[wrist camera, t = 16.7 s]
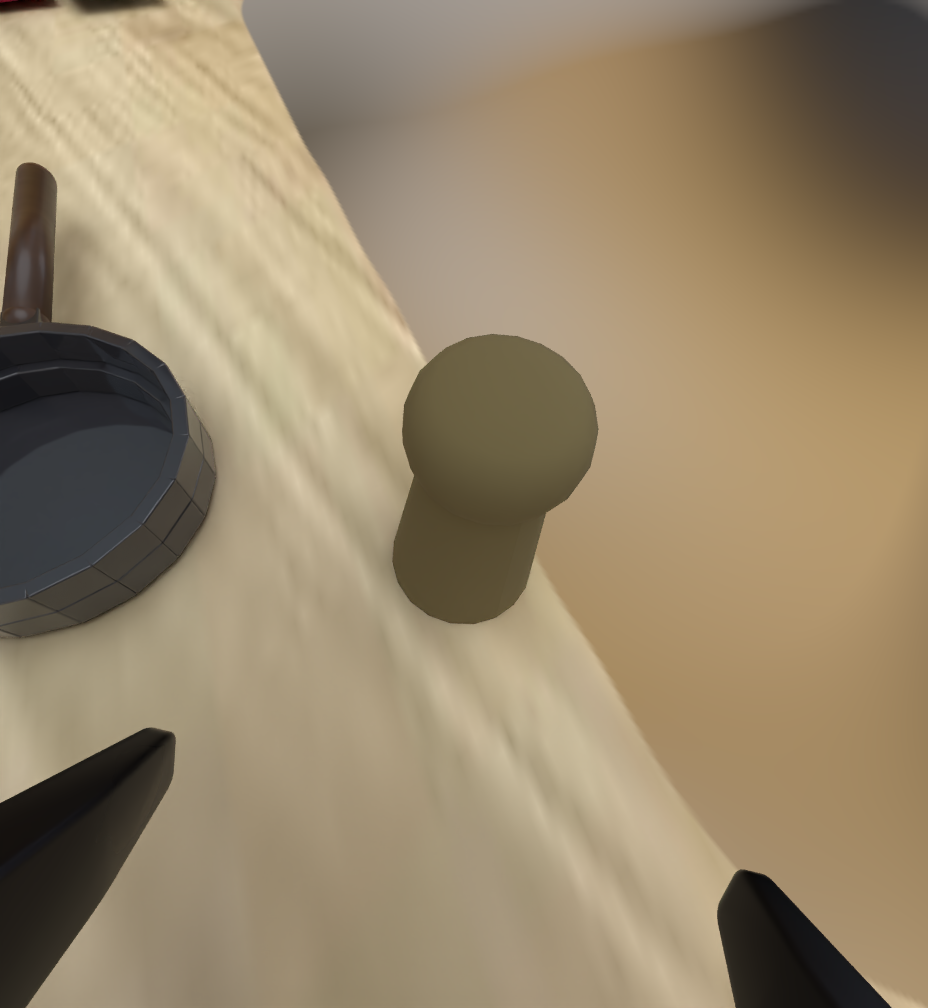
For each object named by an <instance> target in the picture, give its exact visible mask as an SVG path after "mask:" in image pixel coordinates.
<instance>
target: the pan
mask: <svg viewBox="0 0 928 1008" xmlns="http://www.w3.org/2000/svg"><path fill="white" fill-rule="evenodd" d="M215 476H216V471H215V463H214V455H213V447H212V441H211V438H210V436H209V435H208V433H207V431H206V430H205V428H204V426H203V425H202V423H201V421H200V420H199V418H198V416H197V414H196V413H195V411H194V409H193V408H192V406H191V404H190V403H189V401H188V399H187V398H186V396H185V394H184V392H183V391H182V389H181V387H180V386H179V384H178V382H177V381H176V379H175V377H174V376H173V374H172V372H171V371H170V369H169V367H168V366H167V365H166V364H165V363H164V362H163V361H162V360H160V359H159V358H157V357H156V356H155V355H153V354H152V353H151V352H149V351H148V350H147V349H145V348H144V347H143V346H141V345H140V344H139V343H137V342H136V341H134V340H132V339H129V338H126V337H123V336H121V335H118V334H115V333H112V332H109V331H106V330H103V329H100V328H97V327H94V326H89V325H77V324H64V323H52V322H35V323H27V324H19V325H11V326H2V327H0V637H9V638H21V637H27V636H31V635H35V634H40V633H44V632H48V631H52V630H56V629H60V628H64V627H68V626H72V625H76V624H80V623H82V622H86V621H88V620H90V619H92V618H94V617H96V616H98V615H100V614H101V613H103V612H105V611H107V610H109V609H111V608H113V607H115V606H117V605H119V604H120V603H122V602H124V601H126V600H128V599H130V598H132V597H134V596H136V595H137V593H139V592H140V591H141V590H142V589H144V588H145V587H146V586H147V585H148V584H149V583H150V582H152V581H153V580H154V579H155V578H156V577H157V576H158V575H159V574H161V573H162V572H163V571H164V570H165V569H166V568H167V567H169V566H170V565H171V564H172V563H173V562H174V561H175V560H176V559H177V558H178V557H177V556H180V555H181V553H182V552H183V550H184V549H185V547H186V546H187V544H188V543H189V541H190V540H191V538H192V537H193V535H194V533H195V532H196V530H197V529H198V527H199V526H200V524H201V523H202V521H203V520H204V516H206V513H207V509H208V505H209V501H210V498H211V494H212V490H213V486H214V483H215V479H216V477H215Z"/></svg>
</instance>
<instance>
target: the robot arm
mask: <svg viewBox="0 0 928 1008" xmlns="http://www.w3.org/2000/svg"><path fill="white" fill-rule="evenodd" d="M175 744H176V738H175V735H174V734H173V733H172V732H169V731H165V730H161V729H157V728H146V729H143V730H141V731H139V732H137V733H135V734H133V735H131V736H129V737H127V738H125V739H123V740H121V741H119V742H118V743H116V744H114V745H112V746H110V747H108V748H106V749H104V750H102V751H100V752H98V753H96V754H94V755H92V756H90V757H89V758H87V759H85V760H83V761H81V762H79V763H77V764H75V765H73V766H71V767H69V768H67V769H65V770H63V771H61V772H60V773H58V774H56V775H54V776H52V777H50V778H48V779H46V780H44V781H42V782H40V783H38V784H36V785H34V786H32V787H31V788H29V789H27V790H25V791H23V792H21V793H19V794H17V795H15V796H13V797H11V798H9V799H7V800H5V801H3V802H2V803H0V1008H26V1006H27V1005H28V1004H29V1002H30V1001H31V999H32V998H33V996H34V995H35V994H36V992H37V991H38V989H39V988H40V987H41V985H42V984H43V982H44V981H45V980H46V978H47V977H48V975H49V974H50V973H51V971H52V970H53V968H54V967H55V966H56V964H57V963H58V961H59V960H60V959H61V957H62V956H63V954H64V953H65V951H66V950H67V949H68V947H69V946H70V944H71V943H72V942H73V940H74V939H75V937H76V936H77V935H78V933H79V932H80V930H81V929H82V928H83V926H84V925H85V923H86V922H87V921H88V919H89V918H90V916H91V915H92V913H93V912H94V910H95V909H96V907H97V906H98V904H99V903H100V902H101V900H102V899H103V897H104V895H105V894H106V892H107V891H108V889H109V887H110V886H111V884H112V882H113V881H114V879H115V878H116V876H117V874H118V872H119V871H120V869H121V867H122V866H123V864H124V862H125V861H126V859H127V857H128V856H129V854H130V852H131V850H132V849H133V847H134V845H135V844H136V842H137V840H138V839H139V837H140V835H141V834H142V832H143V830H144V828H145V827H146V825H147V823H148V822H149V820H150V818H151V817H152V815H153V813H154V812H155V810H156V808H157V806H158V805H159V803H160V801H161V800H162V798H163V796H164V795H165V793H166V791H167V789H168V787H169V785H170V783H171V780H172V777H173V772H174V759H175ZM717 919H718V926H719V931H720V935H721V940H722V945H723V950H724V954H725V959H726V964H727V969H728V973H729V978H730V983H731V988H732V992H733V997H734V1002H735V1007H736V1008H891V1007H890V1005H889V1004H888V1003H887V1002H886V1001H885V1000H884V999H883V998H882V997H881V996H880V995H879V994H878V993H877V992H876V991H875V989H874V988H873V987H872V986H871V985H870V984H869V983H868V982H867V981H866V980H865V979H864V978H863V977H862V976H861V975H860V973H859V972H858V971H857V970H856V969H855V968H854V967H853V966H852V965H851V964H850V963H849V962H848V961H847V960H846V959H845V957H844V956H842V954H840V952H839V951H838V950H837V949H836V948H835V947H834V946H833V945H832V944H831V943H830V941H828V939H827V938H826V937H825V936H824V935H823V934H822V933H821V932H820V931H819V930H818V929H817V928H816V927H815V926H814V924H813V923H812V922H811V921H810V920H809V919H808V918H807V917H806V916H805V915H804V914H803V913H802V912H801V911H800V910H799V908H798V907H797V906H796V905H795V904H794V903H793V902H792V901H791V900H790V899H789V898H788V897H787V896H786V895H785V894H784V892H783V891H782V890H781V889H780V888H779V887H778V886H777V885H776V884H775V883H774V882H773V881H772V880H771V879H770V878H769V877H767V876H765V875H763V874H760V873H755V872H752V871H748V870H739V871H737V872H736V873H735V874H734V876H733V878H732V880H731V881H730V883H729V885H728V887H727V889H726V891H725V893H724V895H723V896H722V898H721V900H720V902H719V905H718V910H717Z"/></svg>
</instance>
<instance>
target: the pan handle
mask: <svg viewBox="0 0 928 1008" xmlns="http://www.w3.org/2000/svg"><path fill="white" fill-rule="evenodd" d="M56 203H57V184H56V181H55V178H54V177H53V175H52V174H51V173H50V172H49V171H48V170H47V169H46V168H44V167H43V166H41V165H39V164H36V163H23V164H21V165H20V166H19V167H18V168H17V171H16V177H15V187H14V197H13V207H12V217H11V227H10V237H9V247H8V257H7V267H6V277H5V287H4V297H3V307H2V312H1V315H0V327H2V326H11V325H19V324H27V323H35V322H51V321H52V297H53V274H54V250H55V227H56Z"/></svg>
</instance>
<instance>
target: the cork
mask: <svg viewBox="0 0 928 1008" xmlns="http://www.w3.org/2000/svg"><path fill="white" fill-rule="evenodd" d="M402 435H403V445H404V449H405V452H406V455H407V458H408V461H409V464H410V468H411V470H412V472H413V474H414V478H413V482H412V485H411V488H410V491H409V495H408V498H407V501H406V505H405V508H404V511H403V514H402V518H401V521H400V524H399V527H398V531H397V534H396V537H395V541H394V551H393V565H394V569H395V573H396V576H397V580H398V583H399V585H400V586H401V588H402V589H403V591H404V592H405V594H406V595H407V596H408V598H409V599H410V601H411V602H412V603H414V604H415V605H416V606H418V607H419V608H420V609H421V610H423V611H424V612H425V613H427V614H428V615H430V616H432V617H435V618H438V619H441V620H444V621H446V622H449V623H464V624H475V623H478V622H482V621H485V620H488V619H492V618H495V617H497V616H498V615H500V614H501V613H502V612H504V611H505V610H507V609H508V608H510V607H511V606H512V605H514V603H515V602H516V600H517V599H518V597H519V596H520V595H521V593H522V592H523V590H524V589H525V588H526V584H527V580H528V577H529V573H530V570H531V566H532V562H533V559H534V555H535V551H536V548H537V543H538V540H539V536H540V533H541V529H542V525H543V522H544V518H545V514H546V512H548V511H550V510H551V509H553V508H554V507H556V506H557V505H559V504H560V503H562V502H563V501H565V500H566V499H568V497H569V496H570V495H571V494H572V492H573V491H574V489H575V488H576V487H577V485H578V484H579V482H580V481H581V480H582V478H583V477H584V475H585V474H586V472H587V471H588V469H589V468H590V466H591V461H592V457H593V453H594V449H595V445H596V440H597V435H598V424H597V417H596V411H595V405H594V402H593V399H592V397H591V394H590V392H589V390H588V389H587V387H586V385H585V383H584V381H583V379H582V377H581V375H580V374H579V373H578V372H577V371H576V370H575V369H574V368H573V367H572V366H571V365H570V364H569V363H568V362H567V361H566V360H565V359H564V358H563V357H562V356H560V355H559V354H557V353H555V352H554V351H552V350H550V349H549V348H547V347H545V346H544V345H542V344H540V343H537V342H533V341H530V340H527V339H524V338H521V337H518V336H508V335H496V334H490V335H484V336H477V337H470V338H466V339H464V340H462V341H460V342H458V343H456V344H453V345H451V346H449V347H447V348H445V349H444V350H443V351H442V352H440V353H439V354H438V355H437V356H436V357H434V359H432V360H431V361H430V362H429V363H428V364H427V365H426V366H425V367H424V368H423V369H421V370H420V372H419V374H418V376H417V378H416V380H415V382H414V384H413V386H412V388H411V390H410V392H409V394H408V397H407V399H406V402H405V404H404V414H403V428H402Z"/></svg>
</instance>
